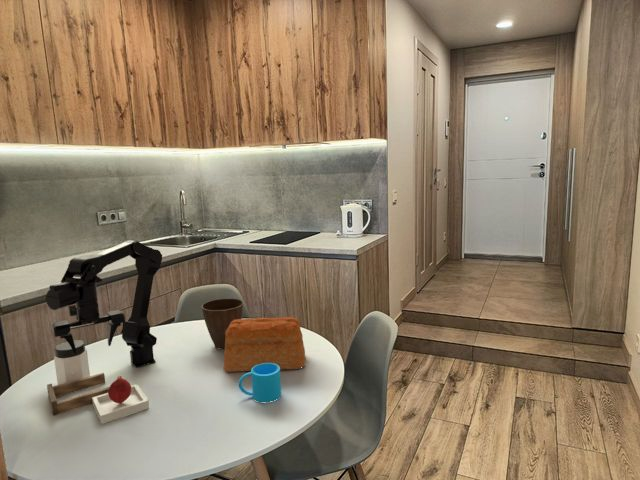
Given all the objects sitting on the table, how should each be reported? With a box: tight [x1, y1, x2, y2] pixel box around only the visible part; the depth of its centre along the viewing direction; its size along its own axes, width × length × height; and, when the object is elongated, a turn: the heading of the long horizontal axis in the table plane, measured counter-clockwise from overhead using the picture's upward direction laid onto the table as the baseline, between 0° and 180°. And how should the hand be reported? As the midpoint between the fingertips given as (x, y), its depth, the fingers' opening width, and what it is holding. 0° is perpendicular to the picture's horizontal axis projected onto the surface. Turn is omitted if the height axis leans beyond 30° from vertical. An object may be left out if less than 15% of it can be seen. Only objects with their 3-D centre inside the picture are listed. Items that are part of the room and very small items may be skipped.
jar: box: [53, 339, 91, 385], centre depth 136 cm, size 9×8×12 cm
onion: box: [108, 375, 132, 404], centre depth 120 cm, size 6×6×8 cm
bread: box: [223, 316, 306, 373], centre depth 145 cm, size 14×27×15 cm, turn 92°
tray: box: [92, 384, 150, 425], centre depth 121 cm, size 12×12×2 cm
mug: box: [237, 363, 282, 403], centre depth 124 cm, size 12×8×8 cm
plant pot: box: [201, 298, 244, 350], centre depth 160 cm, size 15×15×16 cm
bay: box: [46, 372, 110, 416], centre depth 126 cm, size 15×12×4 cm
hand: (92, 349), depth 131 cm, fingers open, 9 cm apart
